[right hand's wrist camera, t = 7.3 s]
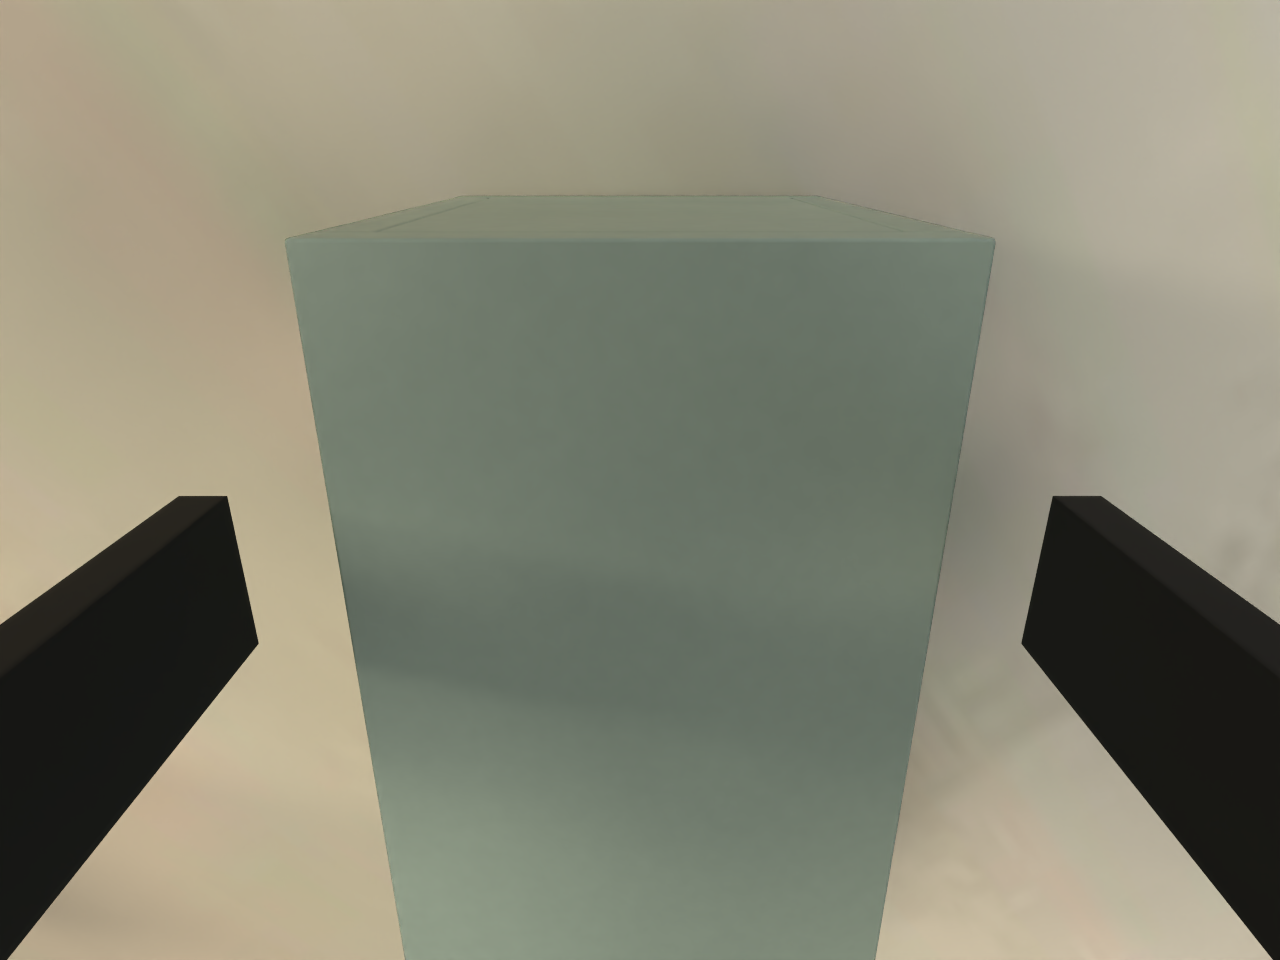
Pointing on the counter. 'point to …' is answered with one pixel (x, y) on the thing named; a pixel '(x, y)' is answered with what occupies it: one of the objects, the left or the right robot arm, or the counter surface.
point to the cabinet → (640, 556)
